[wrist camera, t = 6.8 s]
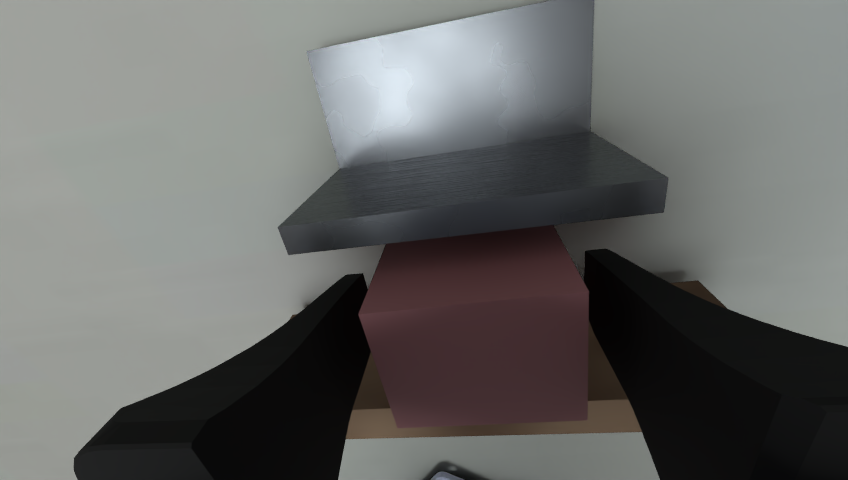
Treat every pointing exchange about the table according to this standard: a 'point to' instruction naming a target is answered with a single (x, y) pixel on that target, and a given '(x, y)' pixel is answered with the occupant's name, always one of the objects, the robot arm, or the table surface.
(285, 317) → the table surface
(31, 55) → the table surface
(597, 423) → the shelf wall
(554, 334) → the mauve rectangular block
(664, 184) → the bookend
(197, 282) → the table surface
